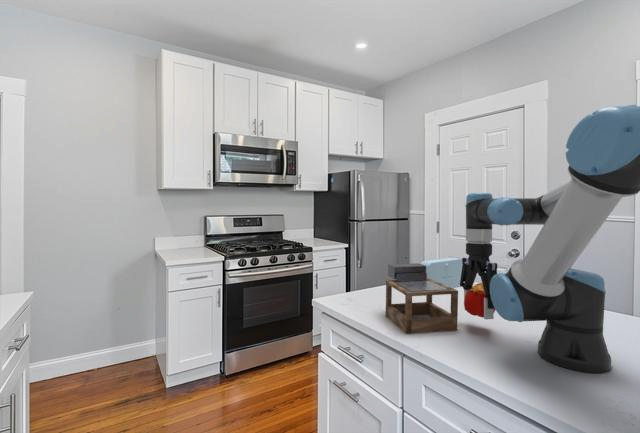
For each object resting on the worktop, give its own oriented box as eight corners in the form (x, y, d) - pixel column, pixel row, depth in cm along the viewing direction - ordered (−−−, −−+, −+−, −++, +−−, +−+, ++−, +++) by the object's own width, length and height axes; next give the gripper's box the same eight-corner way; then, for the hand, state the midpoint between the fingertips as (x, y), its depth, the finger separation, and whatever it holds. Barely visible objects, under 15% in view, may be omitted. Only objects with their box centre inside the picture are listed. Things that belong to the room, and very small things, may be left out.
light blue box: (430, 293, 151) (430, 263, 150) (420, 290, 155) (420, 261, 155) (463, 286, 163) (464, 259, 162) (453, 284, 168) (453, 257, 167)
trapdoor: (386, 280, 125) (386, 264, 125) (419, 278, 127) (419, 263, 127) (410, 294, 106) (410, 275, 106) (448, 292, 108) (449, 274, 108)
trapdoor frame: (457, 329, 107) (458, 290, 107) (407, 333, 104) (407, 293, 104) (429, 312, 124) (430, 278, 124) (385, 315, 121) (386, 280, 120)
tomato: (479, 310, 113) (479, 287, 113) (501, 318, 104) (501, 293, 104) (456, 312, 110) (456, 289, 110) (477, 321, 101) (477, 295, 101)
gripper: (515, 245, 97) (514, 324, 97) (468, 239, 118) (467, 304, 118) (491, 245, 96) (491, 326, 96) (448, 239, 117) (448, 305, 117)
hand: (478, 314), depth 107 cm, fingers closed on tomato, 9 cm apart
